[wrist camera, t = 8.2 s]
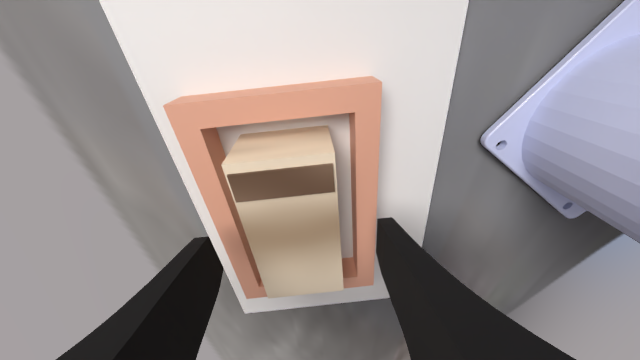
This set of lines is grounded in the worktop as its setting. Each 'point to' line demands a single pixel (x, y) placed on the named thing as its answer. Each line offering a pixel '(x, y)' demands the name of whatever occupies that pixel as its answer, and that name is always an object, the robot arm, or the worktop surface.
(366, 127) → the terracotta frame
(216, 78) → the white mat
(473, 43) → the worktop surface
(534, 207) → the worktop surface
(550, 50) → the worktop surface
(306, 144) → the maple block
